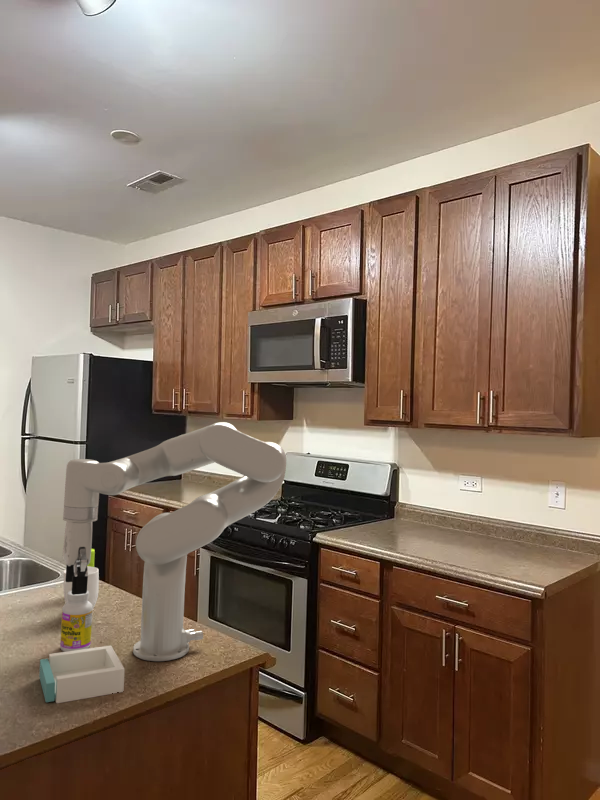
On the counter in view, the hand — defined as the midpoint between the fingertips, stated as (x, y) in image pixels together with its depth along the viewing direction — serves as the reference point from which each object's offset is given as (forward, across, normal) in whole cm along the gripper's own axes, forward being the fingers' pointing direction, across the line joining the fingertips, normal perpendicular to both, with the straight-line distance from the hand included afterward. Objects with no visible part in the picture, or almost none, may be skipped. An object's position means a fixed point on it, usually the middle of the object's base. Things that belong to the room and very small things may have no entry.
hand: (75, 587), depth 145 cm
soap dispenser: (+14, -40, +8) cm, 43 cm away
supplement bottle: (+14, 0, +1) cm, 14 cm away
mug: (+14, -24, +5) cm, 28 cm away
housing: (+14, +20, 0) cm, 24 cm away
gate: (+14, +20, -8) cm, 25 cm away
